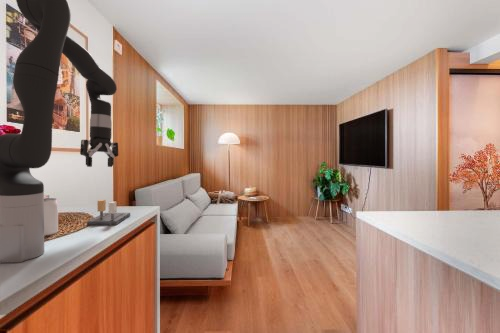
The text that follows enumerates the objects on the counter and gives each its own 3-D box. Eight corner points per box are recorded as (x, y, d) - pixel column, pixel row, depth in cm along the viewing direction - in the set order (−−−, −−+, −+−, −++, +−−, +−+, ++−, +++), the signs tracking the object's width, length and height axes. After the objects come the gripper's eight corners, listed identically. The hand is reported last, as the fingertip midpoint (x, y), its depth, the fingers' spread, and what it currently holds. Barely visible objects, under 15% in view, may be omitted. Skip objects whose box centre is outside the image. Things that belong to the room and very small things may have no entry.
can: (62, 231, 90) (62, 198, 89) (46, 237, 83) (46, 201, 83) (46, 230, 90) (46, 197, 90) (28, 236, 84) (28, 200, 83)
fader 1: (102, 217, 104) (102, 200, 103) (97, 217, 103) (97, 200, 103) (105, 215, 106) (105, 199, 106) (100, 215, 106) (100, 199, 106)
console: (116, 224, 99) (116, 221, 99) (87, 225, 98) (87, 221, 98) (130, 215, 114) (130, 212, 114) (104, 216, 113) (104, 212, 113)
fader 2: (113, 219, 100) (113, 202, 100) (108, 219, 100) (108, 202, 100) (116, 217, 103) (116, 201, 103) (111, 217, 103) (111, 201, 102)
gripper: (88, 123, 93) (87, 167, 93) (122, 128, 105) (122, 167, 106) (76, 124, 96) (75, 166, 96) (111, 129, 109) (110, 166, 109)
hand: (100, 166), depth 101 cm, fingers open, 8 cm apart
